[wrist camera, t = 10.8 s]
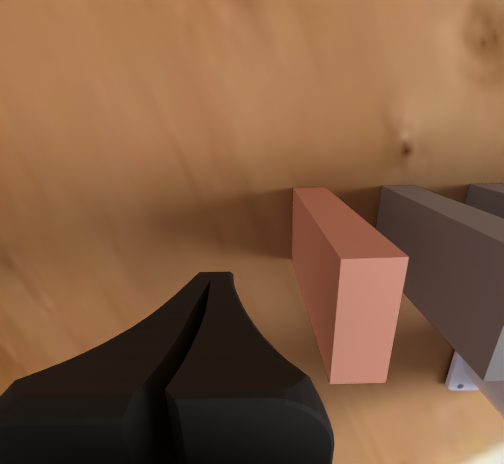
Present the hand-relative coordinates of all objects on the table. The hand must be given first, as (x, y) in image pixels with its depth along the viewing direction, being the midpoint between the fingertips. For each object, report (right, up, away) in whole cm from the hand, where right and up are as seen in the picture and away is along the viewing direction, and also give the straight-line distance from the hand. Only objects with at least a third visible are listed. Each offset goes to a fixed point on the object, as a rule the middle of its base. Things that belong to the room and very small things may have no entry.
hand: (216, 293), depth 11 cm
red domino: (+5, +3, +7) cm, 9 cm away
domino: (+11, +3, +7) cm, 13 cm away
